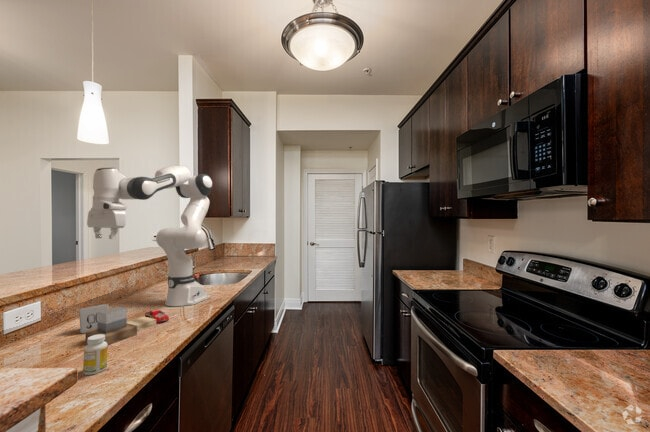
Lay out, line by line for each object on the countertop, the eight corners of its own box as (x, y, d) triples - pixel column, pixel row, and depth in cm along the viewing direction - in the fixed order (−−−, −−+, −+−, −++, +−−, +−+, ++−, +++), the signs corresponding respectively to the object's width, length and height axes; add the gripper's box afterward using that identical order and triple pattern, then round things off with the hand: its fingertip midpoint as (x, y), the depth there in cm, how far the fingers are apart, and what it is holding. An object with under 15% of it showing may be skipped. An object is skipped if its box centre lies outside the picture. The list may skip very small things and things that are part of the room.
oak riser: (143, 321, 122) (143, 316, 122) (156, 324, 119) (156, 319, 119) (123, 327, 115) (124, 322, 115) (137, 330, 112) (137, 325, 112)
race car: (170, 321, 123) (170, 312, 123) (157, 325, 118) (157, 315, 118) (156, 315, 130) (156, 306, 130) (143, 318, 126) (143, 309, 126)
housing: (97, 331, 103) (97, 312, 103) (117, 325, 109) (118, 306, 109) (105, 333, 101) (106, 313, 101) (126, 327, 107) (126, 308, 107)
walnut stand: (118, 330, 112) (118, 322, 112) (136, 334, 108) (136, 326, 108) (85, 340, 102) (85, 332, 102) (104, 346, 98) (104, 337, 98)
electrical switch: (80, 334, 108) (80, 309, 108) (77, 332, 111) (77, 308, 111) (110, 327, 115) (110, 304, 116) (106, 325, 118) (106, 302, 119)
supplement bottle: (85, 377, 79) (86, 342, 79) (81, 370, 82) (81, 337, 82) (109, 369, 83) (110, 336, 83) (104, 363, 86) (105, 331, 86)
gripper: (82, 205, 122) (82, 238, 121) (113, 205, 114) (112, 239, 113) (99, 206, 127) (98, 237, 127) (129, 205, 119) (128, 239, 119)
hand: (105, 238), depth 120 cm, fingers open, 8 cm apart
